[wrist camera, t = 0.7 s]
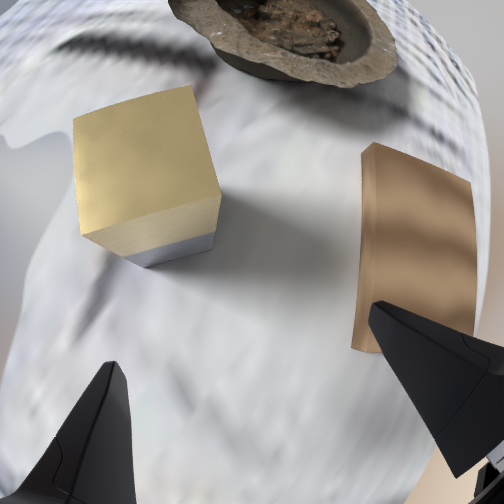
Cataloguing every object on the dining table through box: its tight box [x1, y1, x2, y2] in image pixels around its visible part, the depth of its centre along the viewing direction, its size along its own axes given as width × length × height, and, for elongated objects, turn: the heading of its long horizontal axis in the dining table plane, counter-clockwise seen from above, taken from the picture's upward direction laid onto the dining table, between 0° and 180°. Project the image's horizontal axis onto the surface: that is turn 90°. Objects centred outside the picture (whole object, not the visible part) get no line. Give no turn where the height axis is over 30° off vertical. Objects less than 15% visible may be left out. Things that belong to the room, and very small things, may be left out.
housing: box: [73, 85, 222, 268], centre depth 16 cm, size 6×6×12 cm
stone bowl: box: [168, 0, 398, 88], centre depth 23 cm, size 25×25×9 cm
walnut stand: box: [351, 142, 477, 352], centre depth 24 cm, size 18×14×2 cm
